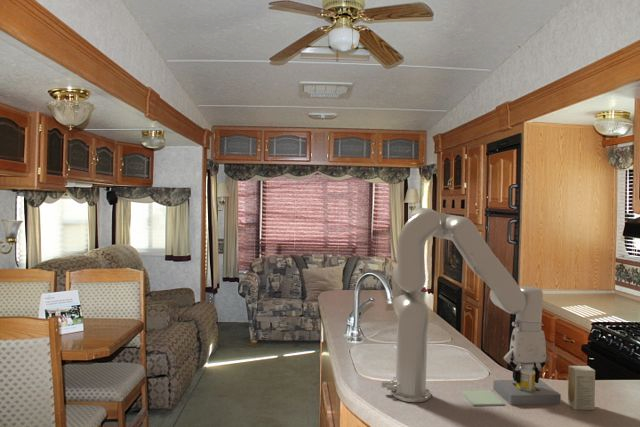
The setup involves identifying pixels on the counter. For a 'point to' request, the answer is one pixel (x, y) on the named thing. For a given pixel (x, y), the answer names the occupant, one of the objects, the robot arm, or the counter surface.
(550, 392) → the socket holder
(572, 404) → the skincare box
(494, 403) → the rubber mat
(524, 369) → the supplement bottle
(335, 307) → the counter surface
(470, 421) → the counter surface
